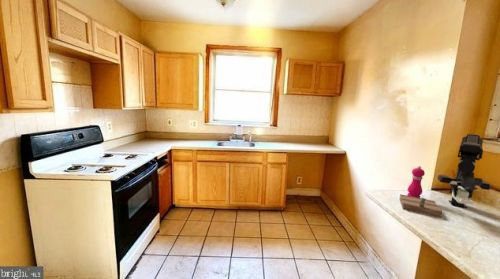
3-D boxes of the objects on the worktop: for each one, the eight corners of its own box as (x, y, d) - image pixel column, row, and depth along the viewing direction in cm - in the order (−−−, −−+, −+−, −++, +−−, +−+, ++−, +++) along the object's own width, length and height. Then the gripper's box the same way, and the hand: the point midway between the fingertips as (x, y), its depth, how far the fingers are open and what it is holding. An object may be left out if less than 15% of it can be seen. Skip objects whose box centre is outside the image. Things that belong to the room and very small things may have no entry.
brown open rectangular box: (399, 199, 129) (401, 187, 127) (433, 205, 121) (436, 193, 120) (402, 209, 116) (405, 196, 115) (440, 217, 109) (443, 203, 108)
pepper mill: (403, 195, 134) (408, 164, 130) (411, 194, 136) (417, 163, 133) (415, 200, 127) (421, 168, 124) (423, 199, 129) (430, 167, 126)
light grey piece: (449, 195, 117) (452, 184, 116) (460, 197, 115) (463, 186, 114) (459, 206, 105) (462, 194, 104) (472, 208, 103) (474, 196, 101)
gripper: (446, 169, 106) (440, 199, 109) (500, 177, 97) (492, 208, 100) (440, 163, 116) (434, 191, 119) (488, 170, 107) (481, 199, 110)
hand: (459, 197), depth 112 cm, fingers closed on light grey piece, 3 cm apart
